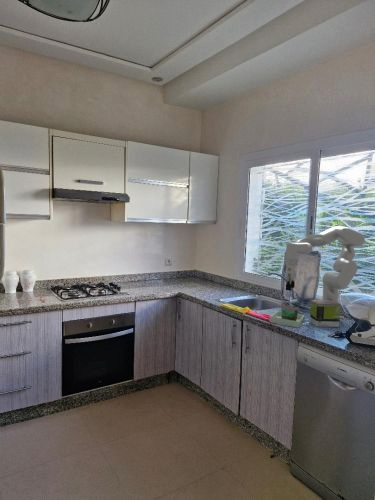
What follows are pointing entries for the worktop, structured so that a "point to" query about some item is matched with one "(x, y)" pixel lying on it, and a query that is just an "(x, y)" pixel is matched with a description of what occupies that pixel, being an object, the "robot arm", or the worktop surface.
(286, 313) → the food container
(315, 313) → the tea box
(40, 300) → the worktop surface
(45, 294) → the worktop surface
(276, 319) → the sorting tray
